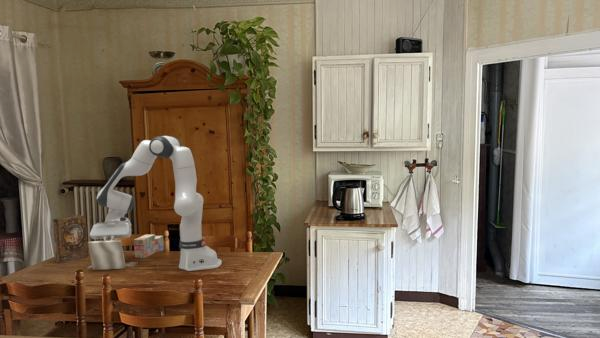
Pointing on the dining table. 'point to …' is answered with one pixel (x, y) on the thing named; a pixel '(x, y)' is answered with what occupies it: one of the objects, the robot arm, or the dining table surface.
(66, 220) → the book
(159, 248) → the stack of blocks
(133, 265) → the grey flat bar
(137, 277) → the dining table surface
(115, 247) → the metal panel
